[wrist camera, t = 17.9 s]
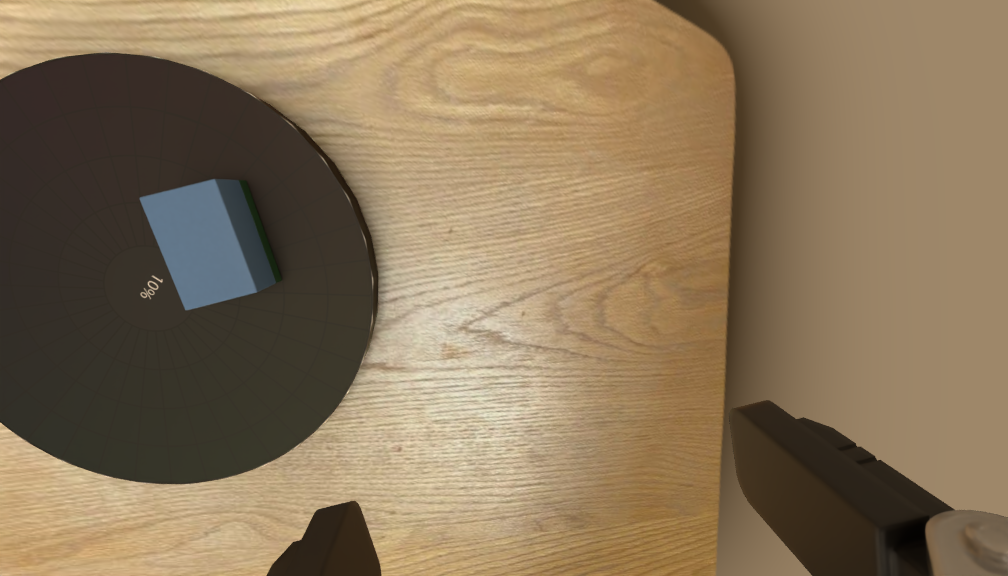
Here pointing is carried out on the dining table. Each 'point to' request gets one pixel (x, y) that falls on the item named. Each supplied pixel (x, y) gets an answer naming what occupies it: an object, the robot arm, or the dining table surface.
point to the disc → (167, 274)
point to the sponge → (212, 241)
